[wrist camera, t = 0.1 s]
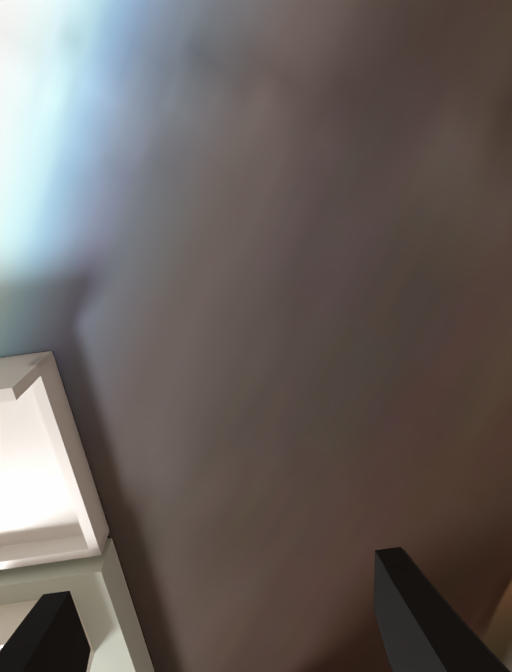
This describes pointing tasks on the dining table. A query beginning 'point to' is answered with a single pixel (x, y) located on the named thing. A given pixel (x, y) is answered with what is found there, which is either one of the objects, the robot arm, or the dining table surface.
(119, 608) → the board
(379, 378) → the dining table surface
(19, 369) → the tray
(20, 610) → the tile cream
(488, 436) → the dining table surface
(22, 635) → the robot arm
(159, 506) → the dining table surface
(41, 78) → the dining table surface
